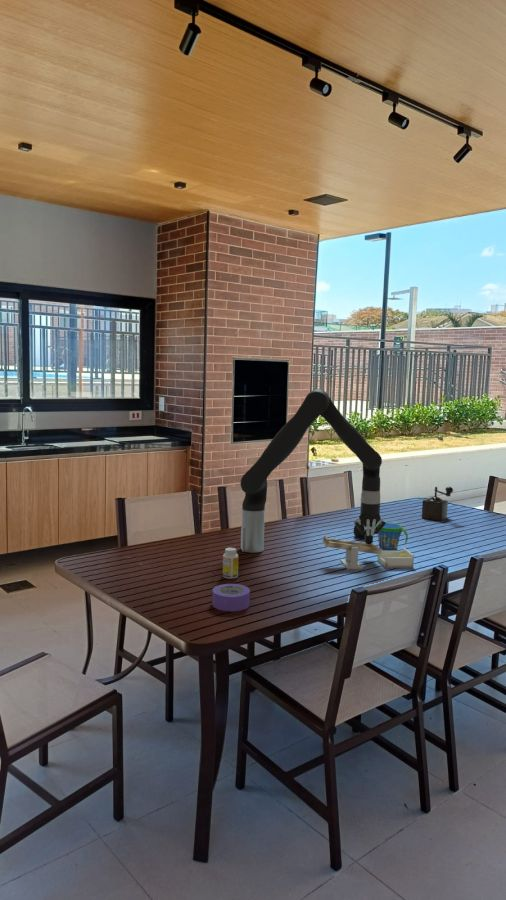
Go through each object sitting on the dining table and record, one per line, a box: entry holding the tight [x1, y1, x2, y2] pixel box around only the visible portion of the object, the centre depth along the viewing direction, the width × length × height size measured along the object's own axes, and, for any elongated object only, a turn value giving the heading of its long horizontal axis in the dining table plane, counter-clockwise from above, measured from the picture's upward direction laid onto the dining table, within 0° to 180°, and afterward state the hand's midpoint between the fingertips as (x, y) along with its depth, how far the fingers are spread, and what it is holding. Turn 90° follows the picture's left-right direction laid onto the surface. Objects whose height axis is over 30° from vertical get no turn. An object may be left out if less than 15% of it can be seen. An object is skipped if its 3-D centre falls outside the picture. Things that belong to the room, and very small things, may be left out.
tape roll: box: [212, 583, 251, 612], centre depth 203 cm, size 12×12×5 cm
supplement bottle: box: [222, 547, 239, 580], centre depth 231 cm, size 6×6×10 cm
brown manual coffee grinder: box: [421, 486, 454, 522], centre depth 335 cm, size 16×11×18 cm
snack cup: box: [375, 522, 409, 551], centre depth 273 cm, size 16×10×10 cm
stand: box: [339, 547, 364, 570], centre depth 249 cm, size 6×11×8 cm, turn 6°
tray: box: [377, 547, 415, 569], centre depth 252 cm, size 11×10×5 cm
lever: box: [322, 535, 383, 555], centre depth 252 cm, size 22×12×3 cm, turn 96°
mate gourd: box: [353, 518, 365, 539], centre depth 293 cm, size 7×8×10 cm
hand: (368, 544), depth 256 cm, fingers closed
